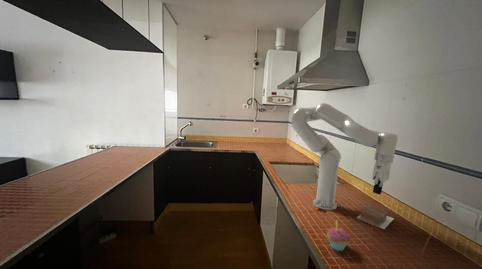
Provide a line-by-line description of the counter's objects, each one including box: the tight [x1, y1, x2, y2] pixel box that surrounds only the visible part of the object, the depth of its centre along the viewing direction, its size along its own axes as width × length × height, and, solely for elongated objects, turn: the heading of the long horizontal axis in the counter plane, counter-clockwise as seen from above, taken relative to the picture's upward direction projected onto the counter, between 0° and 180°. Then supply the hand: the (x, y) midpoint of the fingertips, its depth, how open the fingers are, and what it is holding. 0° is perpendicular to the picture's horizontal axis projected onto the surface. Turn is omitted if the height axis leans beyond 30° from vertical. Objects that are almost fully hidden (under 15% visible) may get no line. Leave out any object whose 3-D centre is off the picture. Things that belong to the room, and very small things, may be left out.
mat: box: [356, 214, 395, 230], centre depth 104 cm, size 16×12×1 cm
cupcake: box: [326, 219, 351, 252], centre depth 80 cm, size 9×8×12 cm
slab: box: [359, 205, 388, 228], centre depth 101 cm, size 4×8×12 cm
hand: (376, 193), depth 102 cm, fingers closed
